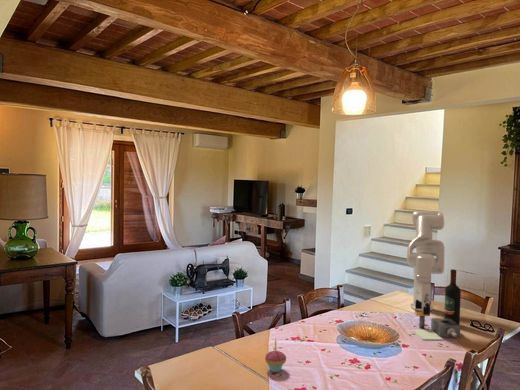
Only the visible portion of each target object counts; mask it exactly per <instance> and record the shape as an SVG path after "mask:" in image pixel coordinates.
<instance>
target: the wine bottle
mask: <svg viewBox="0 0 520 390" xmlns="http://www.w3.org/2000/svg"><path fill="white" fill-rule="evenodd" d="M457 272H458V271H457V269H450V277H449V278H450V279H449V280H450V282H449V284H448V285H447V286H446V287H445V289H444V313H443V314H444V316H443V318H448V319H452V320H453V321H455V322H456V323H457V324H459V325H460V326H461V324H460V323H461V322H460V321H461V297H462V294H461V291H462V290H461V288H460V287H459V286H458V285H457Z"/></svg>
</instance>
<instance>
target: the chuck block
mask: <svg viewBox="0 0 520 390" xmlns="http://www.w3.org/2000/svg"><path fill="white" fill-rule="evenodd" d="M430 320H431V323H430V324H431V325H430V330H433V331H434V332H435V333H436V334H437V335H439V336H440V337H441V338H461V324H460V325H459V324H457V323H456V322H455V321H453V320H452V319H448V318H444V317H443V318H442V317H441V318H435V317H432V318H430Z"/></svg>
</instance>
